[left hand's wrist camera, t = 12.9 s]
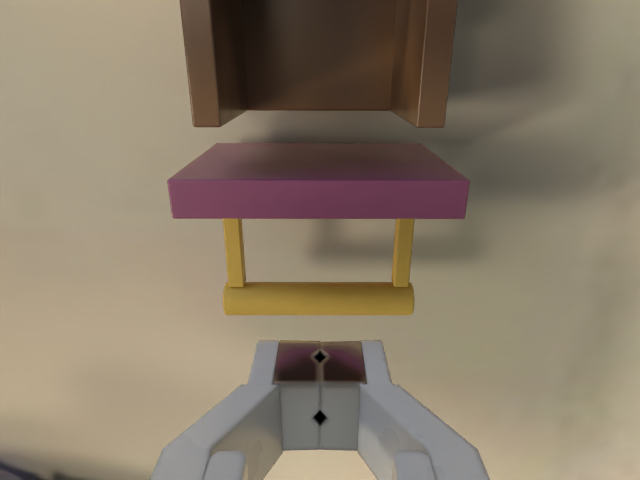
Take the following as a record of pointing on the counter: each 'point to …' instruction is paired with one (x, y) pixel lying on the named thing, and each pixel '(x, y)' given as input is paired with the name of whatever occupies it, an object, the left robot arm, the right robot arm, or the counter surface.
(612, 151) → the counter surface
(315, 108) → the drawer
